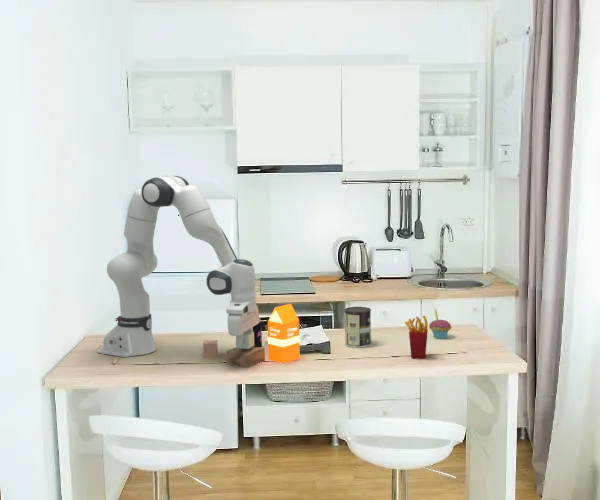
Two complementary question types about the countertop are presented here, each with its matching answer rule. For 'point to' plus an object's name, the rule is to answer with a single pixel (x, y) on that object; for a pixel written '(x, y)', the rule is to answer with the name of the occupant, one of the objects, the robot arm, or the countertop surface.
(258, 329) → the beverage can
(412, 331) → the french fries
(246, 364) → the walnut block
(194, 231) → the robot arm
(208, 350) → the terracotta cube
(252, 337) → the sage cube
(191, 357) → the countertop surface
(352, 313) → the coffee can
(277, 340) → the orange juice
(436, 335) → the cupcake
